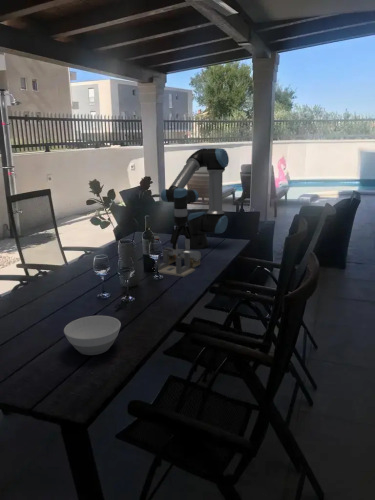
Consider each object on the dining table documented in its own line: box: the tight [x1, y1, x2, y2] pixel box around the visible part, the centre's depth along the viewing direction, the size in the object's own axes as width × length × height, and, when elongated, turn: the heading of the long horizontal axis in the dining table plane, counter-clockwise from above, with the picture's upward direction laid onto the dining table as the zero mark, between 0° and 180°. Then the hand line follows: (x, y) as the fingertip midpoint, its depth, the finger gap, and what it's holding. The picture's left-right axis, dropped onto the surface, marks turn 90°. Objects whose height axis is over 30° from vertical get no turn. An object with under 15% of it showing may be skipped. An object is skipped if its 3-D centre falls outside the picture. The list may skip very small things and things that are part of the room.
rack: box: [168, 257, 201, 269], centre depth 251 cm, size 19×9×4 cm, turn 60°
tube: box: [163, 246, 202, 262], centre depth 250 cm, size 22×6×6 cm, turn 60°
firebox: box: [153, 249, 196, 278], centre depth 238 cm, size 22×12×10 cm, turn 60°
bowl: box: [63, 315, 122, 356], centre depth 151 cm, size 20×20×8 cm
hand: (181, 252), depth 249 cm, fingers open, 13 cm apart
